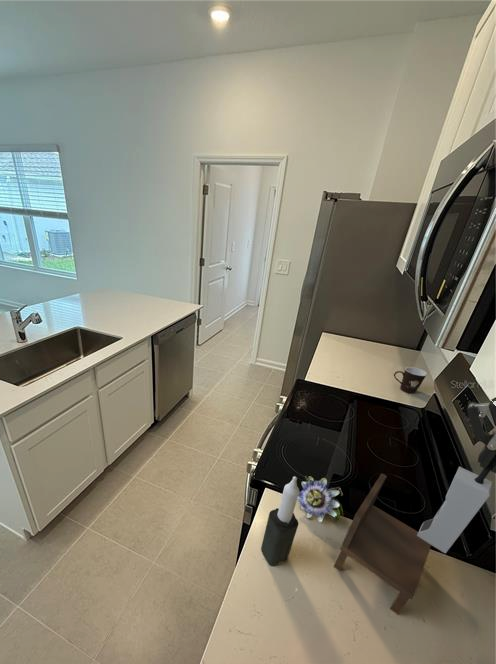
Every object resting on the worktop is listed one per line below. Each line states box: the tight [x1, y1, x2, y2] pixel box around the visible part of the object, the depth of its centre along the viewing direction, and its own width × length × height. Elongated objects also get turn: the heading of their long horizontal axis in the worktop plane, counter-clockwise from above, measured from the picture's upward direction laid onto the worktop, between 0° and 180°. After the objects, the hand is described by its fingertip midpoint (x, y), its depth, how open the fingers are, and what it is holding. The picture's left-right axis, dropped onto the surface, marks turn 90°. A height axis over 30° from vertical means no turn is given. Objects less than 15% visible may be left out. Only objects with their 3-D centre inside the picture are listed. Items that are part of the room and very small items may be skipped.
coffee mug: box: [393, 366, 428, 395], centre depth 142 cm, size 12×9×10 cm
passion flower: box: [297, 475, 344, 523], centre depth 81 cm, size 11×11×12 cm
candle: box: [260, 475, 300, 567], centre depth 65 cm, size 5×5×25 cm
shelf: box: [333, 473, 432, 615], centre depth 66 cm, size 16×14×18 cm
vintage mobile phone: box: [417, 454, 496, 554], centre depth 55 cm, size 4×5×25 cm
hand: (488, 467), depth 51 cm, fingers closed on vintage mobile phone, 1 cm apart
